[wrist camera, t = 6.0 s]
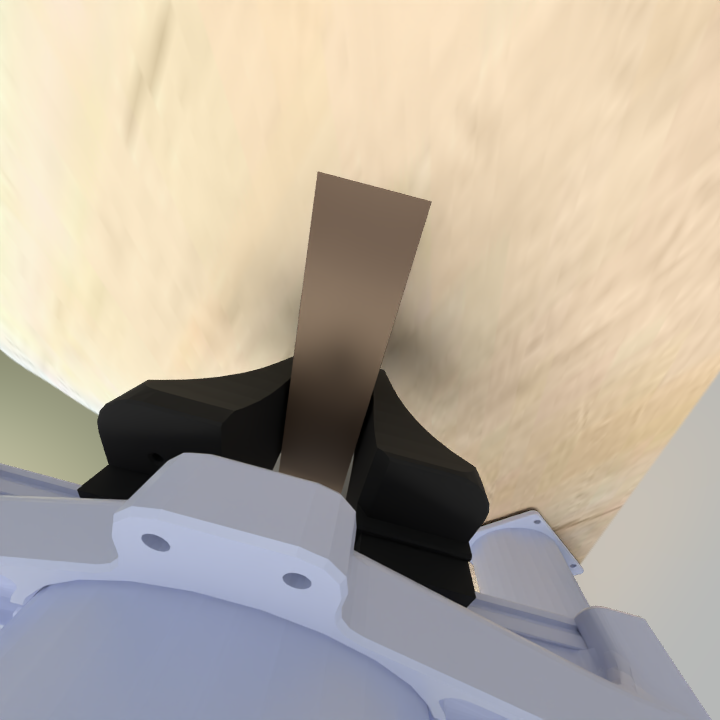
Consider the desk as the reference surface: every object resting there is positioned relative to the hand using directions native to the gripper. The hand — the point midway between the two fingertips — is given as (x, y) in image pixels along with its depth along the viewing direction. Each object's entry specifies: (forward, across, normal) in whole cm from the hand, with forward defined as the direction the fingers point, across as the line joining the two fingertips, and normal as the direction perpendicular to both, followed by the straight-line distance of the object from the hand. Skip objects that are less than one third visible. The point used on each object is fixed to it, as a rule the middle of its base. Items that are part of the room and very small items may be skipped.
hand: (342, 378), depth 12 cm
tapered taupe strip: (+2, 0, 0) cm, 2 cm away
